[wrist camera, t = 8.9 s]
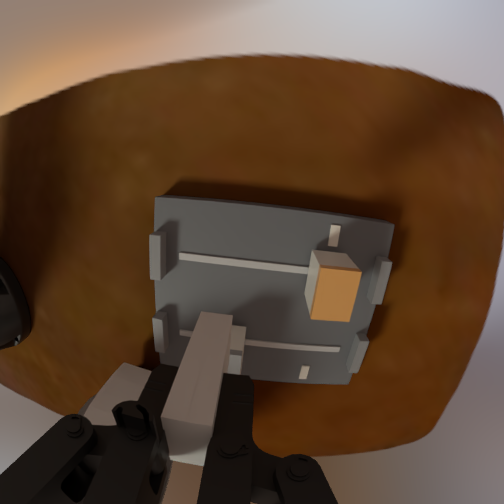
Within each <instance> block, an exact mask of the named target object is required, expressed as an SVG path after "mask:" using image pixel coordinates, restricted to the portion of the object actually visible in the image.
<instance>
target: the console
mask: <svg viewBox="0 0 504 504" xmlns="http://www.w3.org/2000/svg"><path fill="white" fill-rule="evenodd" d="M393 231H394V224H392V223H390V222H388V221H386V220H380V219H374V218H367V217H361V216H355V215H348V214H341V213H335V212H328V211H320V210H313V209H305V208H298V207H289V206H281V205H273V204H264V203H254V202H245V201H235V200H224V199H213V198H201V197H188V196H173V195H161V196H157V197H155V214H154V233H152V234H150V279H153V280H155V302H156V314H155V315H154V317H153V318H152V320H153V332H154V343H155V351H156V352H159V355H160V364H166V365H171V366H177V367H180V364H181V361H182V359H183V356H184V354H185V351H186V349H187V346H188V343H189V341H190V338H191V336H192V333H193V331H194V328H195V326H196V323H197V321H198V318H199V316H200V313H201V311H202V312H210V313H218V314H226V315H233V318H232V325H236V326H244V327H246V335H245V344H244V353H243V362H242V368H241V375H249V376H250V378H251V379H255V380H265V381H277V382H291V383H310V384H349V381H350V379H351V376H352V373H358V371H359V368H360V366H361V363H362V360H363V358H364V355H365V352H366V349H367V347H368V344H369V340H368V338H367V336H366V334H367V331H368V328H369V325H370V322H371V319H372V316H373V312H374V309H375V305H376V304H382V300H383V297H384V293H385V289H386V286H387V282H388V278H389V274H390V270H391V266H392V261H390V260H389V259H388V255H389V250H390V246H391V241H392V236H393ZM312 250H320V251H329V252H337V253H346V254H347V255H348V256H349V258H350V259H351V260H352V261H353V262H354V263H355V265H356V266H357V267H358V268H359V269H360V271H361V272H362V274H361V278H360V282H359V286H358V290H357V294H356V298H355V302H354V306H353V310H352V313H351V317H350V321H349V322H342V321H327V320H314V319H311V318H310V314H309V310H308V306H307V302H306V298H305V294H304V293H305V287H306V282H307V276H308V270H309V264H310V258H311V252H312Z"/></svg>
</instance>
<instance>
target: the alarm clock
mask: <svg viewBox="0 0 504 504" xmlns="http://www.w3.org/2000/svg"><path fill="white" fill-rule="evenodd" d="M151 372H152V371H149V370H146V369H143V368H140V367H137V366H134V365H131V364H128V363H125V362H124V363H123V364H122V365H121V366H120V367H119V368H118V369H117V370H116V371H115V372H114V374H113V375H112V376H111V377H110V378H109V379H108V381H107V382H106V383H105V385H104V386H103V387H102V388H101V390H100V391H99V392H98V393H97V394H96V395H94V396H93V397H92V398H90V399H89V400H88V401H87V402H86V403H85V405H84V406H83V407H82V408H81V409H80V411H79V413H78V414H80V415H82V416H84V417H86V418H87V419H88V420H89V421H90V422H91V424H92V425H106V426H110V425H117V424H116V421H115V419H114V416H113V413H112V409H113V408H114V407H115V405H117V404H119V403H121V402H123V401H129V400H133V401H138V399H139V397H140V395H141V392H142V390H143V389H144V386H145V384H146V382H147V381H148V378H149V376H150V374H151ZM172 463H173V460H170V457H169V455H168V459H167V462H166V466H167V474H166V478H165V482H164V486H163V489H162V493H161V497H160V501H159V504H162V501H163V498H164V495H165V491H166V488H167V485H168V481H169V477H170V473H171V468H172Z"/></svg>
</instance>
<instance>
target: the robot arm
mask: <svg viewBox="0 0 504 504" xmlns="http://www.w3.org/2000/svg"><path fill="white" fill-rule="evenodd" d="M232 318H233V315H226V314H218V313H210V312H202V311H201V313H200V316H199V318H198V321H197V323H196V326H195V328H194V331H193V333H192V336H191V338H190V341H189V343H188V346H187V349H186V351H185V354H184V356H183V359H182V361H181V364H180V367H177V366H171V365H166V364H160V365H159V366H157V367H156V368H155V369H153V370H152V372H151V374H150V376H149V378H148V381H147V382H146V384H145V386H144V389H143V390H142V392H141V395H140V397H139V399H138V401H133V400H129V401H123V402H121V403H119V404H117V405H115V407H114V408H113V409H112V413H113V416H114V419H115V421H116V424H117V425H110V426H106V425H92V424H91V422H90V421H89V420H88V419H87V418H86V417H84V416H82V415H80V414H70V415H66V416H65V417H63V418H61V419H60V420H59V421H58V422H57V423H56V424H55V425H54V426H53V427H51V428H50V429H49V430H48V431H47V432H46V433H45V434H44V435H43V436H42V437H41V438H40V439H39V440H37V441H36V442H35V443H34V444H33V445H32V446H31V447H30V448H29V449H28V450H27V451H25V452H24V453H23V454H22V455H21V456H20V457H19V458H18V459H17V460H16V461H15V462H14V463H12V464H11V465H10V466H9V467H8V468H7V469H6V470H5V471H4V472H3V473H2V474H1V475H0V504H159V501H160V497H161V493H162V489H163V486H164V482H165V478H166V474H167V466H166V462H167V459H168V455H169V457H170V460H174V461H179V462H183V463H189V464H195V465H201V466H204V467H203V473H202V478H201V484H200V489H199V495H198V500H197V504H250V502H253V503H257V504H338V502H337V500H336V498H335V496H334V494H333V492H332V490H331V488H330V486H329V484H328V482H327V480H326V477H325V476H324V473H323V471H322V469H321V467H320V465H319V464H318V463H317V461H316V460H314V459H313V458H311V457H309V456H306V455H302V454H292V455H289V456H287V457H284V458H280V457H277V456H274V455H270V454H268V453H265V452H263V451H262V450H261V449H259V448H258V447H257V446H256V444H255V443H254V441H253V437H252V425H253V401H254V384H253V382H252V380H251V378H250V376H249V375H239V374H230V373H227V371H228V365H229V357H230V344H231V331H232ZM30 329H31V321H30V314H29V309H28V306H27V302H26V299H25V297H24V294H23V291H22V289H21V287H20V285H19V283H18V281H17V279H16V277H15V276H14V274H13V272H12V271H11V269H10V268H9V267H8V265H7V264H6V263H5V262H4V261H3V260H2V259H1V258H0V350H2V349H5V348H9V347H12V346H16V345H18V344H20V343H21V342H22V341H23V340H24V339H26V338H27V337H28V335H29V333H30Z"/></svg>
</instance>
